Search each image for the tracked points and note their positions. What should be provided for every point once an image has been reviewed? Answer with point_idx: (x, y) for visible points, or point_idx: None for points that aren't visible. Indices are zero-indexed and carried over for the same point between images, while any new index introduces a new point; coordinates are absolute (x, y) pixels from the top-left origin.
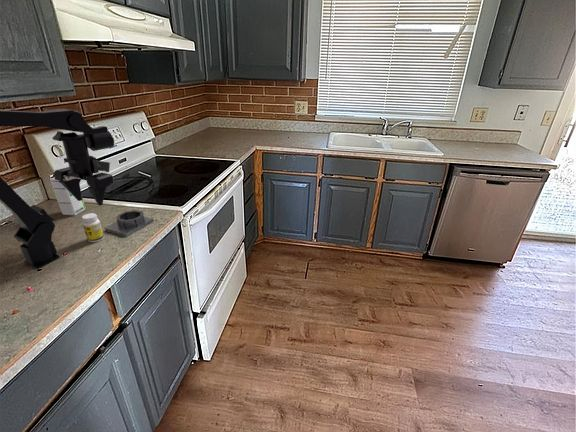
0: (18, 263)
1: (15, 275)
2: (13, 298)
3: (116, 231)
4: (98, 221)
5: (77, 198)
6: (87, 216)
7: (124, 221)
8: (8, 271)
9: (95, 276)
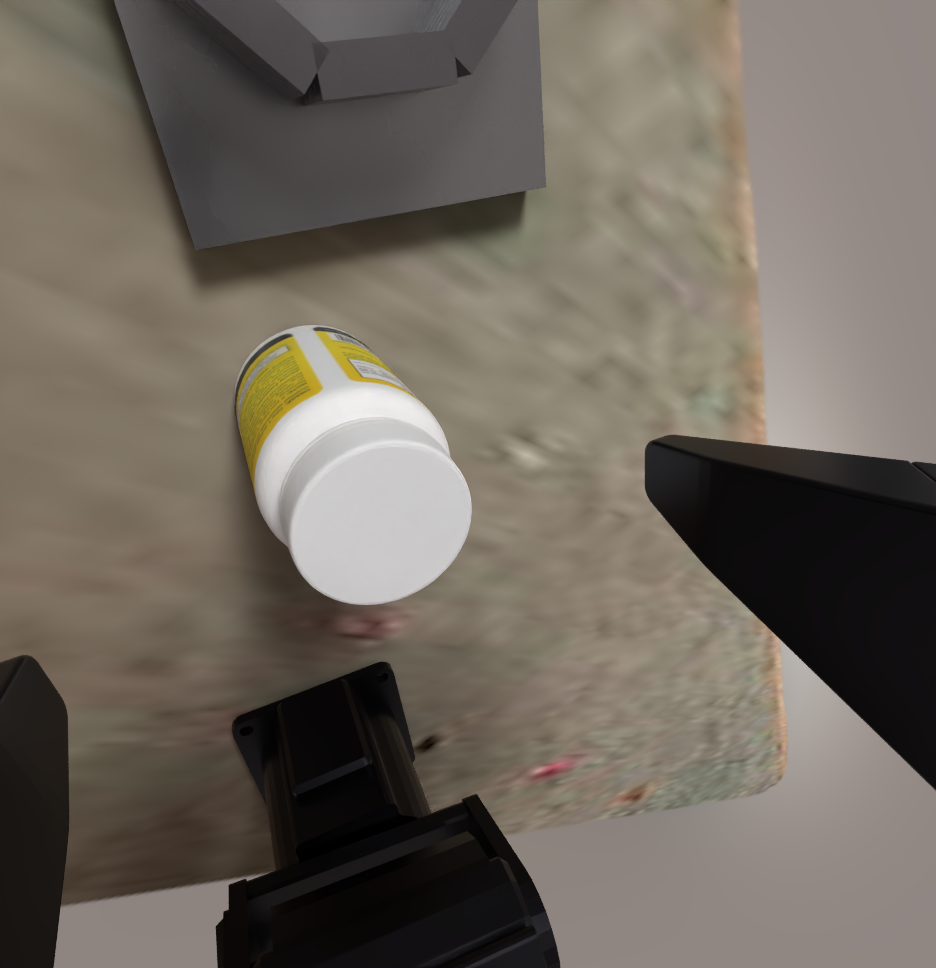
0: (241, 832)
1: None
2: (555, 808)
3: (407, 211)
4: (429, 418)
5: (64, 780)
6: (386, 549)
7: (454, 65)
8: None
9: None
